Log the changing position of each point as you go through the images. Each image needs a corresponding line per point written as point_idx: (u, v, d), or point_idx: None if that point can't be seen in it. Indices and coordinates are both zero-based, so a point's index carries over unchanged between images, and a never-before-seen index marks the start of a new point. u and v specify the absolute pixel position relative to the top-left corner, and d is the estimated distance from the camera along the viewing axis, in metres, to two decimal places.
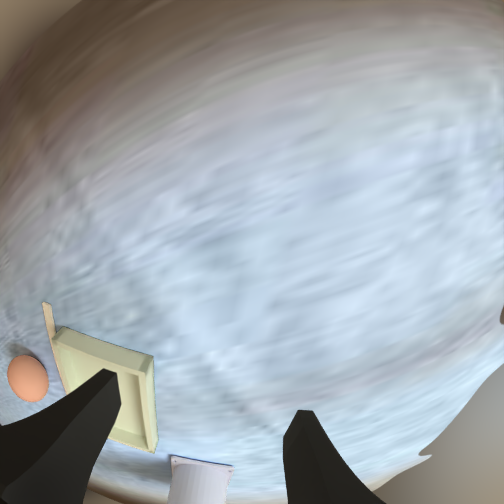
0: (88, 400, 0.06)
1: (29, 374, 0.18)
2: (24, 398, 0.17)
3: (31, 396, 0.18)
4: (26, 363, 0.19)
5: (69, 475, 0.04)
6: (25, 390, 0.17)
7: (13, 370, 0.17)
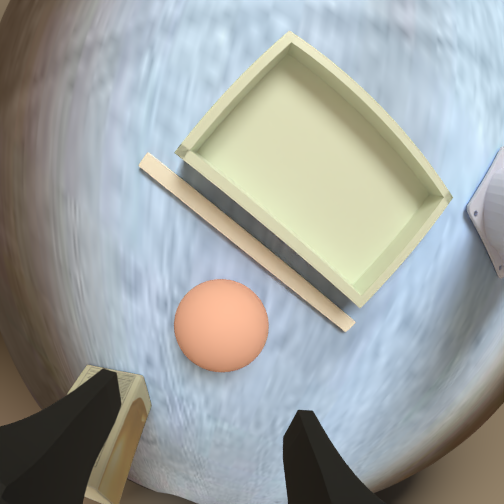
0: (88, 400, 0.06)
1: (207, 290, 0.14)
2: (236, 346, 0.13)
3: (242, 323, 0.13)
4: (193, 289, 0.15)
5: (69, 475, 0.04)
6: (221, 321, 0.13)
7: (180, 320, 0.14)
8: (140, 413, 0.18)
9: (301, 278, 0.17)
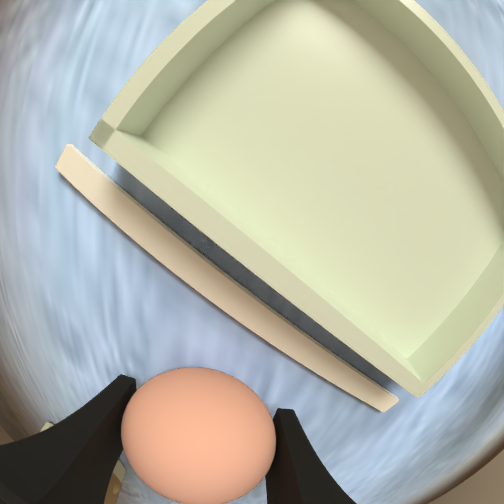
0: (109, 409, 0.07)
1: (164, 404, 0.06)
2: (221, 494, 0.05)
3: (230, 467, 0.06)
4: (144, 389, 0.07)
5: (91, 486, 0.04)
6: (191, 467, 0.05)
7: (126, 442, 0.06)
8: (111, 486, 0.11)
9: (331, 356, 0.10)
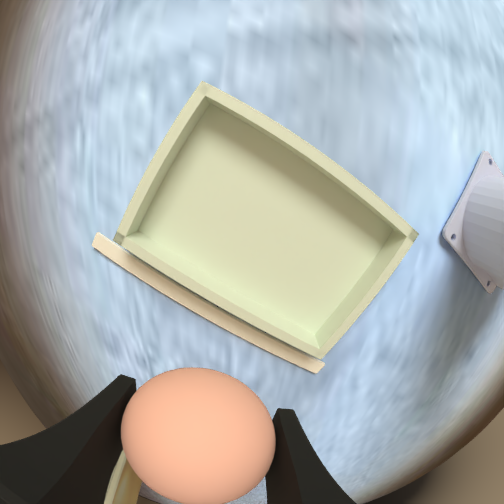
0: (109, 409, 0.07)
1: (164, 404, 0.06)
2: (220, 494, 0.05)
3: (230, 467, 0.06)
4: (144, 390, 0.07)
5: (91, 485, 0.04)
6: (190, 467, 0.05)
7: (126, 442, 0.06)
8: None
9: (260, 333, 0.17)
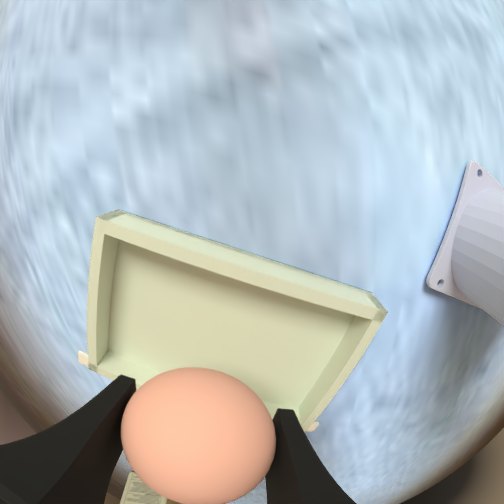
0: (109, 409, 0.07)
1: (164, 404, 0.06)
2: (221, 495, 0.05)
3: (230, 467, 0.06)
4: (144, 390, 0.07)
5: (91, 485, 0.04)
6: (191, 467, 0.05)
7: (126, 442, 0.06)
8: None
9: None
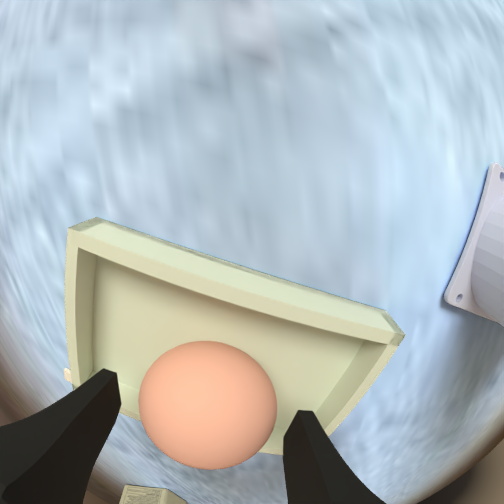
0: (88, 400, 0.06)
1: (181, 369, 0.08)
2: (233, 452, 0.07)
3: (241, 423, 0.07)
4: (161, 361, 0.09)
5: (69, 475, 0.04)
6: (207, 424, 0.07)
7: (145, 410, 0.08)
8: None
9: None
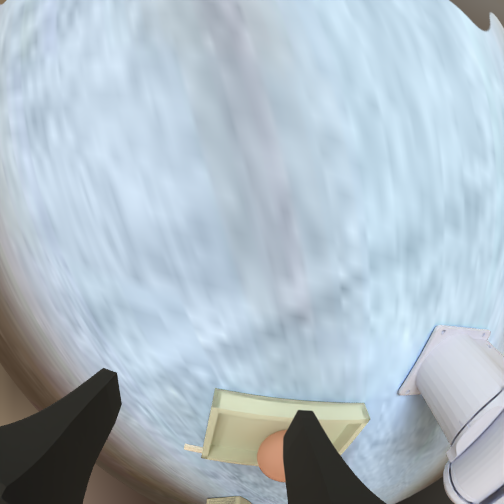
0: (88, 400, 0.06)
1: (282, 450, 0.18)
2: None
3: None
4: (269, 448, 0.19)
5: (69, 475, 0.04)
6: None
7: (269, 468, 0.17)
8: None
9: None
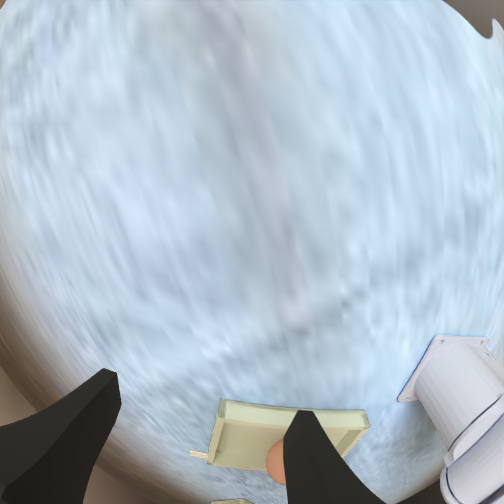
0: (88, 400, 0.06)
1: None
2: None
3: None
4: (278, 457, 0.19)
5: (69, 475, 0.04)
6: None
7: (281, 476, 0.17)
8: None
9: None
